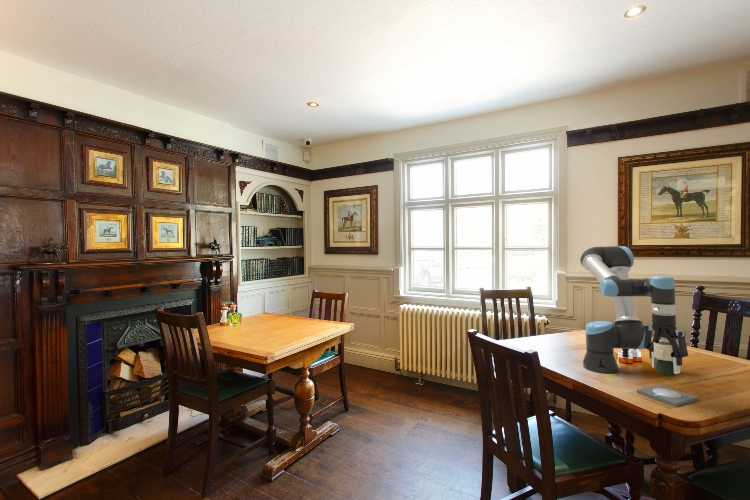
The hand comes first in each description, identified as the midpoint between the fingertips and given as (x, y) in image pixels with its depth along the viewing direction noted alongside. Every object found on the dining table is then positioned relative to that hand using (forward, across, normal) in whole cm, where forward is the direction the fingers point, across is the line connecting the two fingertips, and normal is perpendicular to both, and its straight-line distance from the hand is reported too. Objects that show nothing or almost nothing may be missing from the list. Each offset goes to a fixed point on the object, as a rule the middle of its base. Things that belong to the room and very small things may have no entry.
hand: (665, 370), depth 139 cm
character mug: (+2, 0, 0) cm, 2 cm away
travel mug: (+11, -17, +32) cm, 38 cm away
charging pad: (+11, 0, 0) cm, 11 cm away
